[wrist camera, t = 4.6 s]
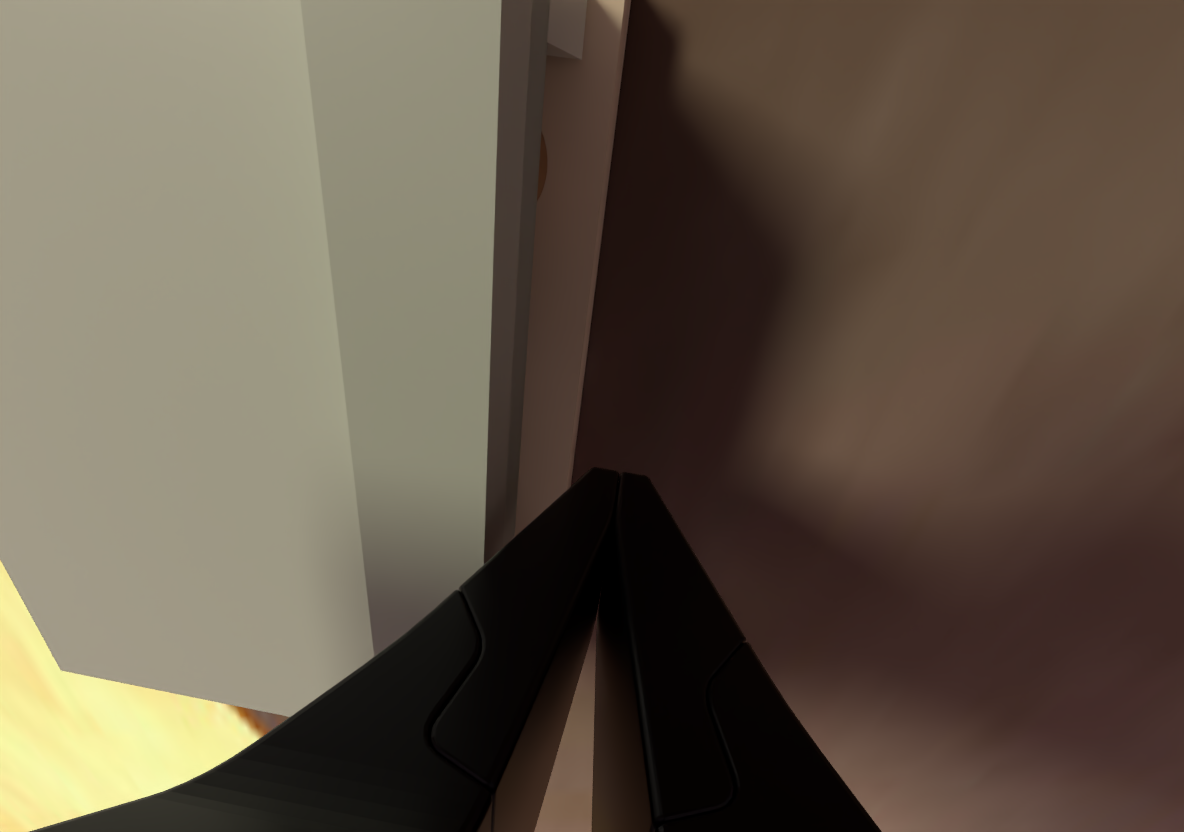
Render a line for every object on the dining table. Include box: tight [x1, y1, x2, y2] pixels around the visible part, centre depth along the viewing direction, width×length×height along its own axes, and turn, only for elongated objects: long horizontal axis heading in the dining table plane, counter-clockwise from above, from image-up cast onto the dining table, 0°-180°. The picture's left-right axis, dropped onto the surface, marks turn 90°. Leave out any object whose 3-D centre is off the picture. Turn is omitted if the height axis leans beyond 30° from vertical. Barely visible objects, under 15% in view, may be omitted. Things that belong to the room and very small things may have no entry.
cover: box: [0, 0, 587, 717], centre depth 9 cm, size 9×13×4 cm
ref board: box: [515, 0, 631, 536], centre depth 11 cm, size 19×13×3 cm
